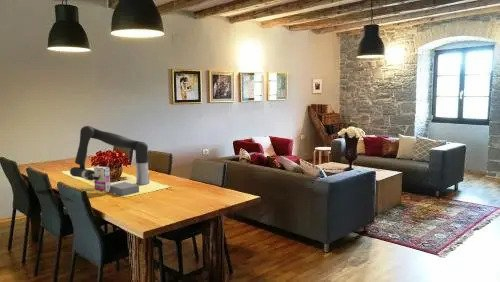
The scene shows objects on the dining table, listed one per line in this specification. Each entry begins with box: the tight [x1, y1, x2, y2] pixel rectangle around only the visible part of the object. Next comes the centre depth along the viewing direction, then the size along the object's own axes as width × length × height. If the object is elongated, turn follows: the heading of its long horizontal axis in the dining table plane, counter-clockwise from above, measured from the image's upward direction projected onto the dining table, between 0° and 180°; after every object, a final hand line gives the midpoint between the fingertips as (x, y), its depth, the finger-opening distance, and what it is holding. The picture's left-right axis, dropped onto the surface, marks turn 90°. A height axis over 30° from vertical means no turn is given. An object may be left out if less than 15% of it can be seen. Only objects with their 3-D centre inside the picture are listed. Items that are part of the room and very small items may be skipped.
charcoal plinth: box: [108, 181, 140, 197], centre depth 284 cm, size 14×17×5 cm
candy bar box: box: [93, 166, 111, 192], centre depth 278 cm, size 11×5×16 cm, turn 62°
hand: (101, 178), depth 277 cm, fingers closed on candy bar box, 5 cm apart
